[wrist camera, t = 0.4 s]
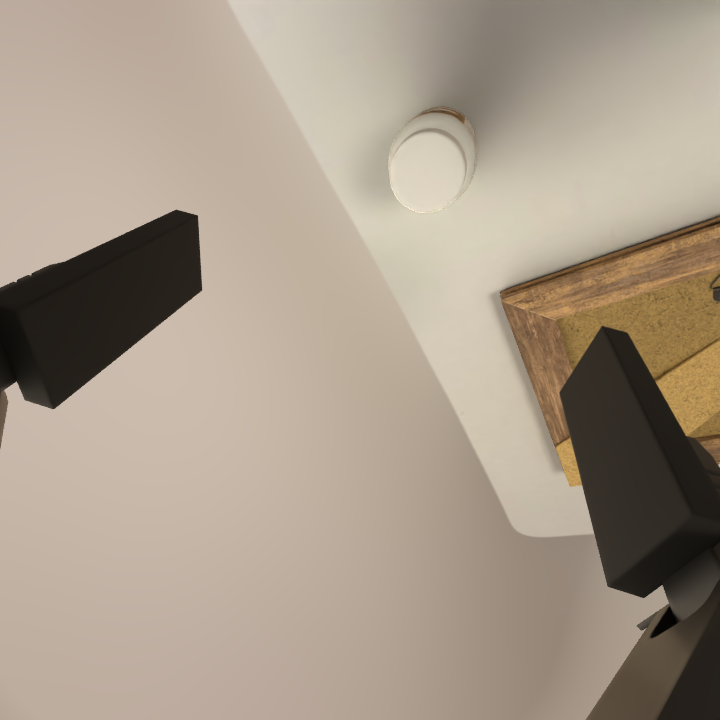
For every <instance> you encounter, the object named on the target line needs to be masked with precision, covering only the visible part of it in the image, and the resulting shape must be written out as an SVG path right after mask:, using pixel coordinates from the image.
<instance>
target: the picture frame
mask: <svg viewBox="0 0 720 720" xmlns="http://www.w3.org/2000/svg"><path fill="white" fill-rule="evenodd" d="M500 294H501V302H502V305H503V307H504V310H505V313H506V315H507V318H508V321H509V323H510V326H511V329H512V331H513V334H514V337H515V340H516V342H517V345H518V348H519V350H520V353H521V356H522V358H523V361H524V364H525V367H526V369H527V372H528V375H529V377H530V380H531V383H532V385H533V388H534V391H535V393H536V396H537V399H538V402H539V404H540V407H541V410H542V412H543V415H544V418H545V420H546V423H547V426H548V429H549V431H550V434H551V437H552V439H553V442H554V445H555V447H556V450H557V453H558V456H559V458H560V461H561V464H562V466H563V469H564V472H565V475H566V477H567V480H568V483H569V485H570V487H572V486H579V485H582V482H581V478H580V474H579V470H578V466H577V462H576V458H575V454H574V450H573V446H572V442H571V438H570V434H569V430H568V426H567V422H566V418H565V414H564V410H563V406H562V402H561V398H560V394H559V392H560V390H561V389H562V387H563V386H564V384H565V383H566V381H567V380H568V378H569V376H570V375H571V373H572V372H573V370H574V369H575V367H576V365H577V364H578V362H579V361H580V359H581V358H582V356H583V355H584V353H585V351H586V350H587V348H588V347H589V345H590V344H591V342H592V340H593V339H594V337H595V336H596V334H597V333H598V331H599V329H600V328H601V326H605V327H609V328H613V329H616V330H620V331H624V332H627V333H628V334H629V336H630V338H631V339H632V341H633V343H634V345H635V347H636V348H637V350H638V352H639V354H640V355H641V357H642V359H643V361H644V362H645V364H646V366H647V368H648V369H649V371H650V373H651V375H652V376H653V378H654V380H655V382H656V384H657V385H658V387H659V389H660V391H661V392H662V394H663V396H664V398H665V399H666V401H667V403H668V405H669V406H670V408H671V410H672V412H673V414H674V415H675V417H676V419H677V421H678V422H679V424H680V426H681V428H682V429H683V431H684V433H685V435H686V436H689V437H692V438H695V439H696V440H697V441H698V442H699V443H700V444H701V445H702V446H703V447H704V448H705V449H706V450H707V451H708V452H709V453H710V454H711V455H712V456H713V458H714V459H715V461H716V463H717V464H720V217H717V218H715V219H712V220H709V221H706V222H703V223H700V224H697V225H694V226H691V227H688V228H685V229H682V230H679V231H676V232H674V233H671V234H668V235H665V236H662V237H659V238H656V239H653V240H650V241H647V242H644V243H641V244H638V245H635V246H633V247H630V248H627V249H624V250H621V251H618V252H615V253H612V254H609V255H606V256H603V257H600V258H597V259H595V260H592V261H589V262H586V263H583V264H580V265H577V266H574V267H571V268H568V269H565V270H562V271H559V272H556V273H554V274H551V275H548V276H545V277H542V278H539V279H536V280H533V281H530V282H527V283H524V284H521V285H518V286H515V287H513V288H510V289H507V290H504V291H501V292H500Z"/></svg>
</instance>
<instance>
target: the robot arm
mask: <svg viewBox="0 0 720 720" xmlns="http://www.w3.org/2000/svg"><path fill="white" fill-rule="evenodd" d="M200 264H201V263H200V246H199V227H198V216H197V215H194V214H190V213H187V212H183V211H179V210H175V211H172V212H170V213H168V214H166V215H164V216H162V217H160V218H157V219H155V220H153V221H151V222H149V223H147V224H144V225H142V226H140V227H138V228H136V229H134V230H132V231H129V232H127V233H125V234H123V235H121V236H119V237H117V238H114V239H113V240H110V241H108V242H106V243H104V244H102V245H99V246H97V247H95V248H93V249H91V250H89V251H87V252H85V253H82V254H80V255H78V256H76V257H74V258H72V259H70V260H67V261H65V262H61V263H57V264H52V265H49V266H47V267H44V268H42V269H40V270H38V271H36V272H34V273H32V275H31V276H30V275H27V276H25V277H23V278H20V279H18V280H17V282H12V283H10V284H7V285H5V286H3V287H1V288H0V447H1V441H2V435H3V429H4V423H5V417H6V411H7V405H8V400H7V396H6V393H5V392H4V390H5V389H6V388H8V387H9V386H10V385H12V384H13V383H15V382H16V381H17V383H18V385H19V387H20V390H21V392H22V394H23V397H24V399H25V400H26V401H30V402H33V403H36V404H39V405H42V406H45V407H48V408H51V409H55V408H56V407H57V406H59V405H60V404H61V403H62V402H63V401H65V400H66V399H67V398H68V397H70V396H71V395H72V394H73V393H75V392H76V391H77V390H78V389H80V388H81V387H82V386H83V385H85V384H86V383H87V382H88V381H90V380H91V379H92V378H93V377H95V376H96V375H97V374H98V373H100V372H101V371H102V370H103V369H105V368H106V367H107V366H108V365H110V364H111V363H112V362H113V361H115V360H116V359H117V358H118V357H120V356H121V355H122V354H123V353H124V352H126V351H127V350H128V349H129V348H131V347H132V346H133V345H134V344H136V343H137V342H138V341H139V340H141V339H142V338H143V337H144V336H145V335H147V334H148V333H149V332H151V331H152V330H153V329H154V328H156V326H158V325H159V324H161V323H162V322H163V321H164V320H166V319H167V318H168V317H169V316H171V315H172V314H173V313H174V312H176V311H177V310H178V309H179V308H181V307H182V306H183V305H184V304H185V303H187V302H188V301H189V300H191V299H192V298H193V297H194V296H195V295H197V294H198V293H199V292H200V291H202V281H201V265H200ZM559 394H560V398H561V402H562V406H563V410H564V414H565V418H566V422H567V426H568V430H569V434H570V438H571V442H572V446H573V450H574V454H575V458H576V462H577V466H578V470H579V474H580V478H581V482H582V486H583V490H584V494H585V498H586V502H587V506H588V510H589V514H590V518H591V522H592V526H593V530H594V534H595V538H596V541H597V546H598V549H599V554H600V558H601V562H602V566H603V570H604V573H605V578H606V582H607V586H608V587H611V588H614V589H617V590H620V591H623V592H627V593H630V594H633V595H636V596H639V597H642V598H645V597H646V596H648V595H649V594H650V593H652V592H653V591H654V590H656V589H657V588H658V587H660V586H661V585H663V587H664V590H665V593H666V596H667V598H668V601H669V604H668V605H666V606H665V607H663V608H662V609H660V610H659V611H657V612H656V613H655V614H653V615H651V616H650V617H649V618H647V619H646V620H644V621H643V622H641V623H640V624H638V625H637V627H638V628H639V629H640V630H644V629H645V628H647V629H646V630H645V632H644V633H643V635H642V636H641V638H640V639H639V641H638V642H637V644H636V645H635V647H634V648H633V650H632V651H631V653H630V654H629V656H628V657H627V659H626V660H625V662H624V663H623V665H622V666H621V668H620V669H619V671H618V672H617V674H616V675H615V677H614V678H613V680H612V681H611V683H610V684H609V686H608V687H607V689H606V690H605V692H604V693H603V695H602V696H601V698H600V699H599V701H598V702H597V704H596V705H595V707H594V708H593V710H592V711H591V713H590V715H589V716H588V717H587V719H586V720H720V468H719V466H718V464H717V463H716V461H715V459H714V458H713V456H712V455H711V454H710V453H709V452H708V451H707V450H706V449H705V448H704V447H703V446H702V445H701V444H700V443H699V442H698V441H697V440H696V439H695V438H692V437H689V436H686V435H685V433H684V431H683V429H682V428H681V426H680V424H679V422H678V421H677V419H676V417H675V415H674V414H673V412H672V410H671V408H670V406H669V405H668V403H667V401H666V399H665V398H664V396H663V394H662V392H661V391H660V389H659V387H658V385H657V384H656V382H655V380H654V378H653V376H652V375H651V373H650V371H649V369H648V368H647V366H646V364H645V362H644V361H643V359H642V357H641V355H640V354H639V352H638V350H637V348H636V347H635V345H634V343H633V341H632V339H631V338H630V336H629V334H628V333H627V332H624V331H620V330H616V329H613V328H609V327H605V326H601V328H600V329H599V331H598V333H597V334H596V336H595V337H594V339H593V340H592V342H591V344H590V345H589V347H588V348H587V350H586V351H585V353H584V355H583V356H582V358H581V359H580V361H579V362H578V364H577V365H576V367H575V369H574V370H573V372H572V373H571V375H570V376H569V378H568V380H567V381H566V383H565V384H564V386H563V387H562V389H561V390H560V392H559Z"/></svg>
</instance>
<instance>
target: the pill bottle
mask: <svg viewBox="0 0 720 720" xmlns="http://www.w3.org/2000/svg"><path fill="white" fill-rule="evenodd" d="M475 166H476V137H475V133H474V130H473V128H472V126H471V124H470V122H469V121H468V120H467V119H466V117H465V116H464V115H463V114H461V113H460V112H458V111H456V110H454V109H452V108H448V107H436V108H431V109H428V110H426V111H424V112H423V113H421V114H420V115H418V116H417V117H415V118H414V119H412V120H411V121H410V122H409V123H407V124H406V125H405V126H404V127H403V128H402V129H401V130H400V131H399V133H398V134H397V136H396V137H395V139H394V141H393V143H392V145H391V148H390V152H389V157H388V171H389V178H390V184H391V188H392V191H393V193H394V195H395V197H396V198H397V199H398V201H399V202H400V203H401V204H402V205H404V206H405V207H406V208H408V209H410V210H412V211H414V212H418V213H432V212H436V211H439V210H441V209H443V208H445V207H447V206H448V205H449V204H451V203H452V202H453V201H455V200H456V199H458V198H459V197H460V196H461V195H462V194H463V193H464V191H465V190H466V189H467V187H468V185H469V184H470V182H471V180H472V177H473V175H474V171H475Z"/></svg>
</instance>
